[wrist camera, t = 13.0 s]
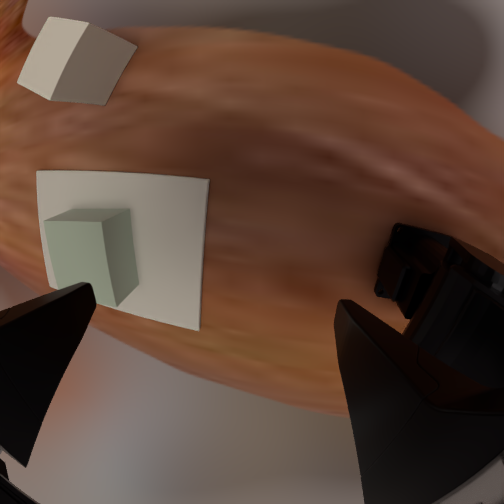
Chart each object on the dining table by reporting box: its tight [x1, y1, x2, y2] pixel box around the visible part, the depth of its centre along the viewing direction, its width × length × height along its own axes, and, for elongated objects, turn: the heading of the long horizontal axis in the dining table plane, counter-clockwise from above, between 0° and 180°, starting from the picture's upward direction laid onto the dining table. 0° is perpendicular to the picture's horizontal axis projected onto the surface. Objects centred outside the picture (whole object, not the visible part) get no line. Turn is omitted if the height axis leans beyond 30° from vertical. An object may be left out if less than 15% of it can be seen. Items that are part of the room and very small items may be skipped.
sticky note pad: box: [43, 209, 139, 307], centre depth 21 cm, size 7×7×4 cm
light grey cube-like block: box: [17, 17, 137, 106], centre depth 14 cm, size 6×6×7 cm
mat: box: [36, 170, 210, 331], centre depth 24 cm, size 20×14×1 cm
